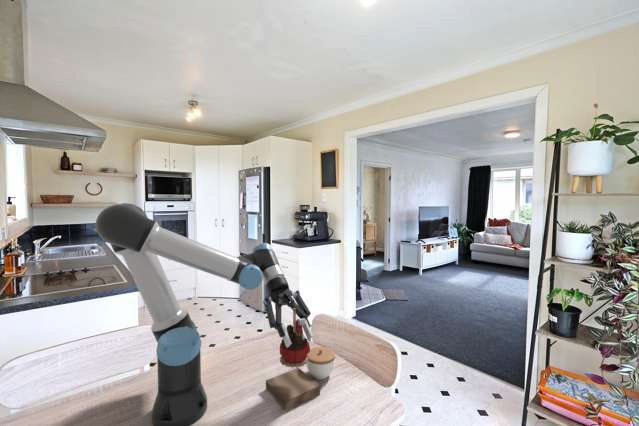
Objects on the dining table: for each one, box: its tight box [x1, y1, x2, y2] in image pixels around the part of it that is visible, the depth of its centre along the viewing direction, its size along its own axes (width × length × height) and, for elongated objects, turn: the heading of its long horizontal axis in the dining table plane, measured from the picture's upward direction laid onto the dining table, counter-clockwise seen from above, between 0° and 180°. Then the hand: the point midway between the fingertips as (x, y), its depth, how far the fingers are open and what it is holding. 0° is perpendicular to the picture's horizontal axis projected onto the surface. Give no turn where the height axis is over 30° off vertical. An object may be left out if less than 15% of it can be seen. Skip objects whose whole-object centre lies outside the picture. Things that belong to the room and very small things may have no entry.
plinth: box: [265, 367, 321, 412], centre depth 100 cm, size 13×13×3 cm
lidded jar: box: [306, 346, 336, 380], centre depth 110 cm, size 11×11×9 cm
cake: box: [279, 308, 311, 369], centre depth 99 cm, size 11×9×18 cm
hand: (300, 341), depth 97 cm, fingers closed on cake, 8 cm apart
